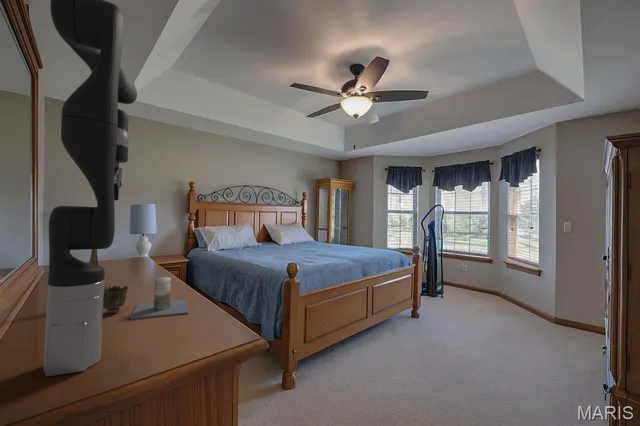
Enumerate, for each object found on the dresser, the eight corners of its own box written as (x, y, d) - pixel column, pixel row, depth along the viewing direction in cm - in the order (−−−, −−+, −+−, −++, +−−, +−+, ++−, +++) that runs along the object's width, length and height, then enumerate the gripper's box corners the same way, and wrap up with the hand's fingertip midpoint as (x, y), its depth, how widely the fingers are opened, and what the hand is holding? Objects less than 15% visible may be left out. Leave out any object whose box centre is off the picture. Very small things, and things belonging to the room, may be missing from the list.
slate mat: (187, 314, 96) (187, 312, 96) (129, 319, 89) (129, 317, 89) (187, 301, 110) (187, 299, 110) (138, 305, 104) (138, 303, 104)
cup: (132, 310, 98) (133, 286, 98) (114, 317, 91) (115, 291, 91) (111, 308, 99) (112, 284, 99) (92, 315, 91) (93, 290, 92)
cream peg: (169, 309, 98) (170, 279, 98) (152, 310, 96) (154, 279, 96) (170, 305, 102) (171, 276, 103) (154, 306, 101) (155, 277, 101)
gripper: (123, 141, 82) (120, 199, 81) (132, 151, 95) (130, 201, 94) (90, 137, 79) (87, 197, 78) (104, 148, 92) (101, 200, 91)
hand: (110, 199), depth 86 cm, fingers open, 8 cm apart
